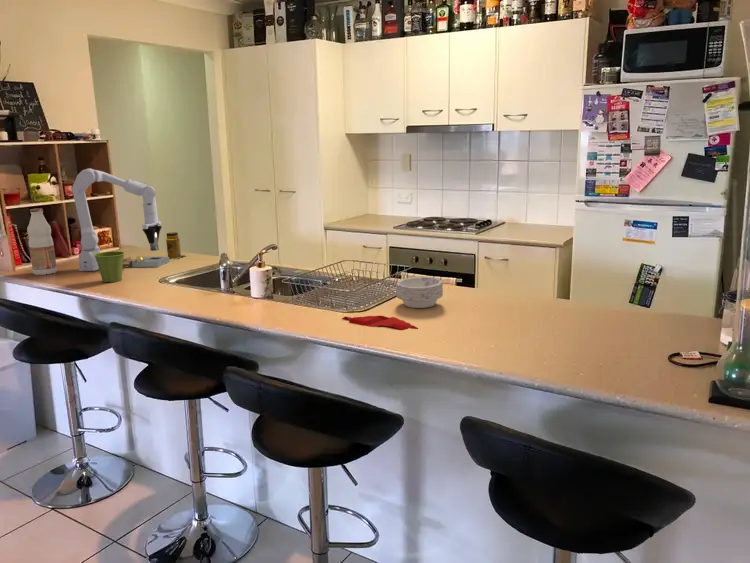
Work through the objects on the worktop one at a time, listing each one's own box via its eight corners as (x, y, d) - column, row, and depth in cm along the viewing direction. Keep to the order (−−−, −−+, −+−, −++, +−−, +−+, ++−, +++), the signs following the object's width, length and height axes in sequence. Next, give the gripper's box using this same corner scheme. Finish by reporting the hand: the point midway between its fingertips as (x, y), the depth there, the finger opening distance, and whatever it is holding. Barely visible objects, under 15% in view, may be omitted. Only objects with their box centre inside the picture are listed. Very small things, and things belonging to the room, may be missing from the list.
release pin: (141, 266, 283) (141, 257, 282) (136, 266, 283) (135, 257, 282) (144, 264, 286) (143, 256, 285) (138, 264, 286) (138, 256, 285)
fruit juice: (35, 276, 268) (26, 210, 262) (31, 273, 275) (21, 209, 269) (59, 273, 274) (50, 208, 267) (54, 269, 281) (45, 207, 275)
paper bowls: (387, 305, 208) (386, 282, 206) (417, 296, 218) (417, 274, 216) (421, 313, 197) (421, 289, 195) (452, 304, 207) (452, 280, 206)
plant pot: (114, 284, 248) (110, 256, 246) (90, 283, 252) (86, 255, 250) (134, 278, 259) (131, 251, 257) (111, 277, 263) (107, 250, 261)
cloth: (430, 327, 186) (430, 319, 185) (402, 339, 175) (401, 331, 175) (364, 313, 202) (363, 306, 201) (334, 323, 192) (334, 316, 191)
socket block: (158, 267, 281) (157, 261, 281) (132, 267, 282) (132, 261, 282) (169, 261, 293) (168, 256, 292) (144, 261, 294) (144, 256, 294)
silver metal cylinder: (156, 250, 286) (154, 233, 284) (149, 250, 286) (147, 233, 284) (160, 249, 289) (158, 232, 287) (152, 249, 289) (150, 232, 288)
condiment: (164, 258, 302) (161, 233, 299) (175, 255, 310) (172, 231, 307) (176, 259, 300) (174, 234, 297) (187, 255, 307) (185, 231, 305)
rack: (131, 266, 284) (131, 261, 283) (116, 266, 284) (116, 262, 284) (143, 261, 295) (143, 256, 295) (129, 261, 296) (129, 257, 295)
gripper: (151, 214, 276) (155, 245, 279) (165, 210, 290) (168, 240, 293) (136, 214, 277) (139, 245, 280) (151, 211, 291) (154, 240, 294)
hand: (153, 242), depth 287 cm, fingers closed on silver metal cylinder, 4 cm apart
